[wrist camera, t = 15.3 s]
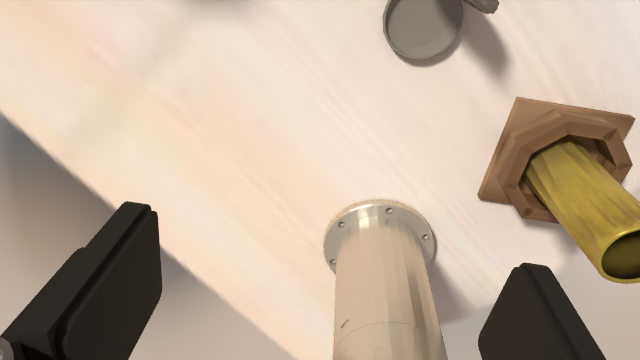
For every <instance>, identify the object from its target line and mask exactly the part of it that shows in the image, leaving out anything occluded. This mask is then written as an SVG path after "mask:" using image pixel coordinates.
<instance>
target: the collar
mask: <svg viewBox="0 0 640 360" xmlns="http://www.w3.org/2000/svg"><path fill="white" fill-rule="evenodd" d="M634 121H635V118H634V117H632V116H630V115H624V114H618V113H612V112H606V111H600V110H594V109H587V108H581V107H575V106H569V105H563V104H557V103H551V102H545V101H538V100H532V99H526V98H520V97H516V100H515V102H514V105H513V107H512V110H511V112H510V115H509V117H508V120H507V122H506V125H505V127H504V130H503V132H502V135H501V137H500V140H499V142H498V145H497V147H496V150H495V152H494V155H493V157H492V160H491V162H490V165H489V167H488V170H487V172H486V174H485V177H484V179H483V182H482V184H481V187H480V189H479V192H478V194H477V195H478V197H479V199H483V200H490V201H496V202H503V203H509V204H513V205H514V206H515V208H516V209H517V211H518V213H519V214H520V216H521V217H522V218H526V219H533V220H539V221H545V222H552V223H558V224H560V223H559V221H558V220H557V219H556V217H555V216H554V215H553V214H552V213H551V211H550V210H549V209H548V208H547V206H546V205H545V204H544V203H543V202H542V201H541V200H540V199H539V197H538V196H537V195H536V194H535V192H534V191H533V190H532V189H531V188H530V187H529V186H528V185H527V184H526V183H525V182H524V181H523V180H522V178H521V175H522V173H523V171H524V169H525V167H526V164H527V162H528V160H529V158H530V156H531V154H532V153H534V152H535V151H537V150H539V149H541V148H543V147H545V146H547V145H549V144H551V143H552V142H554V141H556V140H558V139H560V138H562V137H564V136H566V135H567V136H571V137H573V138H575V139H577V140H578V141H579V142H580V143H581V144H582V146H583V147H584V148H585V149H586V150H587V151H588V152H589V153H590V154H591V155H592V156H593V157H594V158H595V159H596V160H597V161H598V162H599V163H600V164H601V165H602V166H603V167H604V169H605V170H606V171H607V172H608V173H609V174H610V175H611V176H612V177H613V178H614V179H615V180H616V181H617V182H618V183H619V184H620V185H621V183H622V182H623V180H624V178H625V177H626V175H627V173H628V172H629V170H630V169H631V167H632V165H633V164H632V162H631V159H630V157H629V155H628V153H627V150H626V148H625V146H624V143H623V140H624V138H625V136H626V135H627V133H628V131H629V129H630V128H631V126H632V124H633V122H634Z"/></svg>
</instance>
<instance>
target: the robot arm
mask: <svg viewBox="0 0 640 360" xmlns="http://www.w3.org/2000/svg"><path fill="white" fill-rule="evenodd" d="M323 246H324V256H325V259H326V262H327V264H328V265H329V267H330V269H331V270H332V271H333V272H334V273H335V274H336V288H335V316H334V343H333V360H448V358H447V354H446V350H445V346H444V342H443V337H442V333H441V329H440V325H439V320H438V316H437V312H436V308H435V304H434V299H433V295H432V291H431V287H430V283H429V278H428V274H427V270H426V268H427V267H428V265H429V263H430V261H431V259H432V256H433V252H434V239H433V235H432V232H431V229H430V227H429V225H428V223H427V222H426V220H425V219H424V218H423V217H422V216H421V215H420V214H419V213H418V212H417V211H415V210H414V209H412V208H411V207H409V206H407V205H404V204H402V203H399V202H395V201H390V200H370V201H364V202H361V203H357V204H354V205H352V206H350V207H348V208H346V209H345V210H343V211H342V212H341V213H339V214H338V215H337V216H336V217H335V218H334V219H333V220H332V221H331V223H330V225H329V226H328V228H327V230H326V233H325V237H324V245H323ZM161 293H162V275H161V261H160V244H159V229H158V215H157V212H155V211H151V207H150V205H148V204H141V203H135V202H128V201H127V202H124V203H123V204H122V205H121V206H120V207H119V209H118V210H117V211H116V212H115V213H114V214H113V216H112V217H111V218H110V219H109V220H108V221H107V222H106V224H105V225H104V226H103V227H102V228H101V230H100V231H99V232H98V233H97V234H96V235H95V236H94V238H93V239H92V240H91V241H90V242H89V243H88V245H87V246H86V247H85V248H83V247H82V248H80V249H78V250H77V251H75V252H74V253H73V254H72V255H71V256H70V258H69V259H68V260H67V261H66V262H65V263H64V264H63V266H62V267H61V268H60V269H59V270H58V271H57V272H56V274H55V275H54V276H53V277H52V278H51V279H50V280H49V281H48V283H47V284H46V285H45V286H44V287H43V288H42V289H41V291H40V292H39V293H38V294H37V295H36V296H35V297H34V298H33V299H32V301H31V302H30V303H29V304H28V305H27V306H26V307H25V309H24V310H23V311H22V312H21V313H20V314H19V315H18V317H17V318H16V319H15V320H14V321H13V322H12V323H11V324H10V326H9V327H8V328H7V329H6V330H5V331H4V332H3V334H2V335H1V336H0V360H128V358H129V357H130V355H131V353H132V351H133V349H134V347H135V345H136V343H137V342H138V339H139V338H140V336H141V334H142V332H143V330H144V328H145V326H146V324H147V322H148V321H149V319H150V317H151V315H152V313H153V311H154V309H155V307H156V305H157V304H158V302H159V299H160V297H161ZM478 347H479V351H480V353H481V357H482V360H606V358H605V357H604V355H603V353H602V352H601V350H600V349H599V347H598V345H597V344H596V342H595V341H594V339H593V337H592V336H591V334H590V332H589V331H588V329H587V328H586V326H585V324H584V323H583V321H582V320H581V318H580V316H579V315H578V313H577V311H576V310H575V308H574V307H573V305H572V303H571V302H570V300H569V298H568V297H567V295H566V294H565V292H564V290H563V289H562V287H561V286H560V284H559V282H558V281H557V279H556V277H555V276H554V274H553V273H552V271H551V270H550V268H549V267H547V266H544V265H537V264H531V263H522V264H521V265H520V266H519V267H515V268H513V270H512V271H511V273H510V275H509V277H508V279H507V281H506V283H505V285H504V287H503V289H502V291H501V293H500V295H499V297H498V299H497V301H496V303H495V305H494V307H493V309H492V311H491V313H490V315H489V317H488V319H487V321H486V323H485V325H484V326H483V329H482V330H481V332H480V335H479V339H478Z"/></svg>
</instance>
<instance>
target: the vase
mask: <svg viewBox="0 0 640 360" xmlns="http://www.w3.org/2000/svg"><path fill="white" fill-rule="evenodd" d="M521 178H522V180H523V181H524V182H525V183H526V184H527V185H528V186H529V187H530V188H531V189H532V190H533V191H534V192H535V194H536V195H537V196H538V197H539V199H540V200H541V201H542V202H543V203H544V204H545V205H546V206H547V208H548V209H549V210H550V211H551V213H552V214H553V215H554V216H555V217H556V219H557V220H558V221H559V223H560V224H561V225H562V226H563V227H564V229H565V230H566V231H567V232H568V233H569V235H570V236H571V237H572V238H573V240H574V241H575V242H576V243H577V245H578V246H579V247H580V249H581V250H582V251H583V252H584V254H585V255H586V256H587V258H589V260H590V261H591V263H592V264H593V265H594V266H595V268H596V269H597V271H598V272H599V274H601V276H602V277H604V278H605V279H607V280H610V281H612V282H616V283H625V284H628V283H638V282H640V202H639V201H638V200H637V199H636V198H635V197H634V196H632V195H631V194H630V193H629V192H628V191H627V190H626V189H625V188H623V187H622V186H621V185H620V184H619V183H618V182H617V181H616V180H615V179H614V178H613V177H612V176H611V175H610V174H609V173H608V172H607V171H606V170H605V169H604V167H603V166H602V165H601V164H600V163H599V162H598V161H597V160H596V159H595V158H594V157H593V156H592V155H591V154H590V153H589V152H588V151H587V150H586V149H585V148H584V147H583V146H582V144H581V143H580V142H579V141H578V140H577V139H575V138H573V137H571V136H567V135H566V136H564V137H562V138H560V139H558V140H556V141H554V142H552V143H551V144H549V145H547V146H545V147H543V148H541V149H539V150H537V151H535V152H534V153H532V154H531V156H530V158H529V160H528V162H527V164H526V167H525V169H524V171H523V173H522V175H521Z"/></svg>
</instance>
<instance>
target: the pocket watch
mask: <svg viewBox="0 0 640 360" xmlns="http://www.w3.org/2000/svg"><path fill="white" fill-rule="evenodd" d="M464 1H465V2H467V3H468V4H470V5H471V6H473V7H474V8H476V9H478V10H479V11H481V12H483V13H485V14H489V13H492V14H494V12H495V11H496V10H497V8H498V5H499V2H498V0H464ZM462 15H463V14H462V4H461V1H460V0H388V2H387V5H386V7H385V11H384V14H383V32H384V34H385V37H386V39H387V42H388V43H389V45H390V46H391V47H392V48H393V49H394V50H395V51H396V52H397V53H399V54H400V55H402V56H404V57H406V58H410V59H420V60H421V59H427V58H431V57H433V56H436V55H438V54H439V53H441V52H443V51H444V50H445V49H446V48H448V47H449V45H450V44H451V43H452V42H453V41H454V39H455V38H456V36H457V34H458V32H459V30H460V27H461V22H462Z"/></svg>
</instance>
